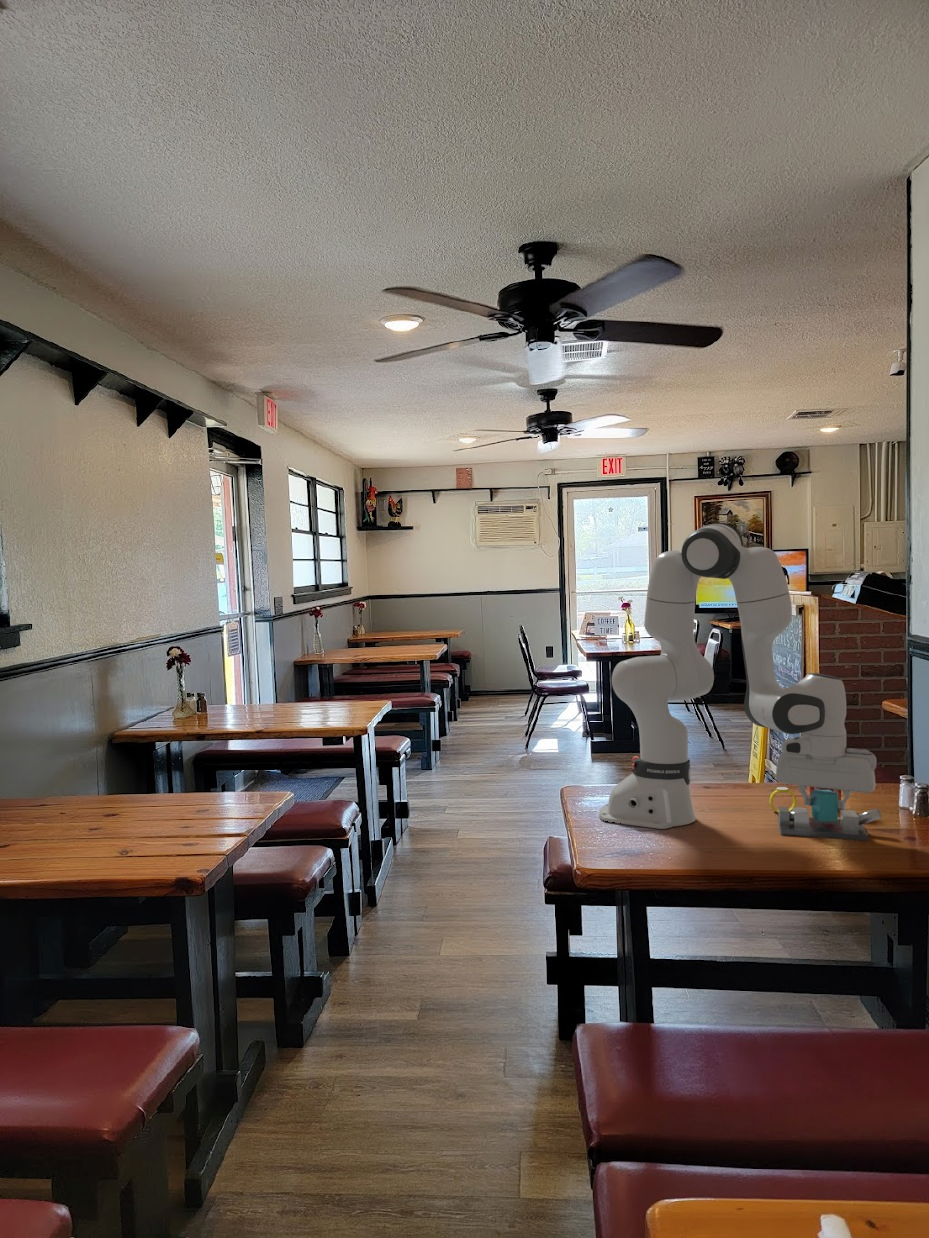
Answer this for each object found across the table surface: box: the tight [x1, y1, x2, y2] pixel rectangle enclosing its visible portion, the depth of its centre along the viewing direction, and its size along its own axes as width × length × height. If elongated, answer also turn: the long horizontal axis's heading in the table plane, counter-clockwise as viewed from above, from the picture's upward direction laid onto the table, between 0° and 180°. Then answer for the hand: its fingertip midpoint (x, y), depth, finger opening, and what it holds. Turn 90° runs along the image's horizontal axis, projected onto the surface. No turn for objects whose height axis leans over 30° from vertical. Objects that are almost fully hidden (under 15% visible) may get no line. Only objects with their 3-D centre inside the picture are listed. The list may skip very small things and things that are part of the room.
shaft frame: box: [777, 806, 883, 842], centre depth 178 cm, size 21×11×6 cm, turn 72°
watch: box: [768, 786, 797, 814], centre depth 194 cm, size 6×3×6 cm, turn 85°
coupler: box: [811, 790, 839, 822], centre depth 179 cm, size 4×4×6 cm
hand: (824, 807), depth 179 cm, fingers closed on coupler, 6 cm apart
